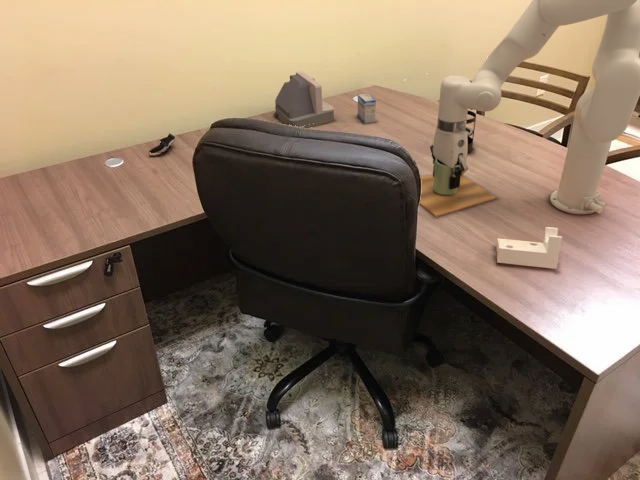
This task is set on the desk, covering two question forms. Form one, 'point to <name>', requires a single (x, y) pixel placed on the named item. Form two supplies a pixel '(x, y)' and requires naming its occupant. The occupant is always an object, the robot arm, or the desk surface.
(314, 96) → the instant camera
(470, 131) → the french press
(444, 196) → the mat
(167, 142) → the black shoe
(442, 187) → the pot
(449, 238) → the desk surface
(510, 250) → the bracket
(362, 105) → the medicine box
